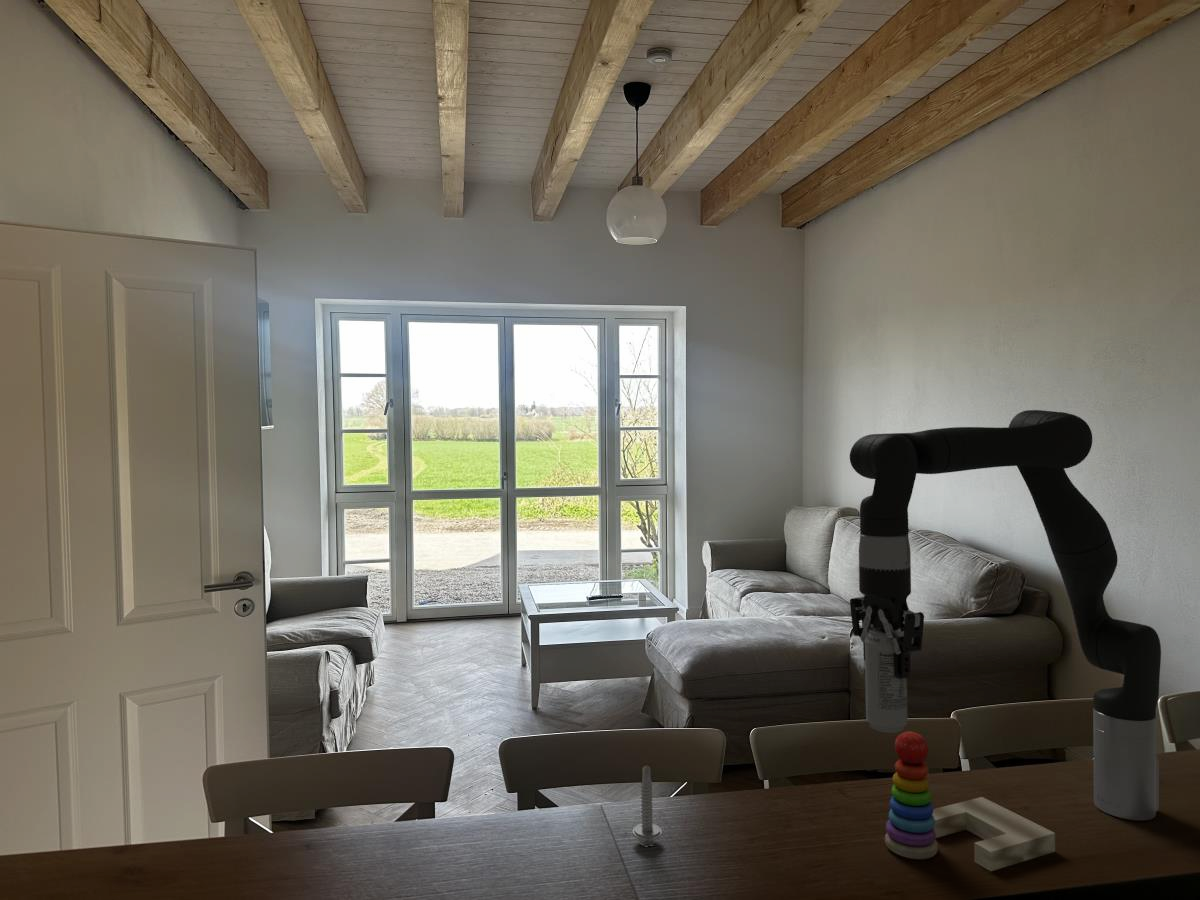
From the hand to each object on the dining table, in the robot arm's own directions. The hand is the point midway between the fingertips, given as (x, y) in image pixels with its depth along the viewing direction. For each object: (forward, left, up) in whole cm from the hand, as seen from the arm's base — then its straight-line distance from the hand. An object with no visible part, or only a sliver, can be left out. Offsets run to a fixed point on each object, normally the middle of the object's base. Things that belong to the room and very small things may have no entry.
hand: (886, 671), depth 123 cm
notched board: (-20, +1, -30) cm, 36 cm away
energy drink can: (0, 0, -9) cm, 9 cm away
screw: (+31, -21, -30) cm, 48 cm away
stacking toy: (-7, -2, -30) cm, 31 cm away
